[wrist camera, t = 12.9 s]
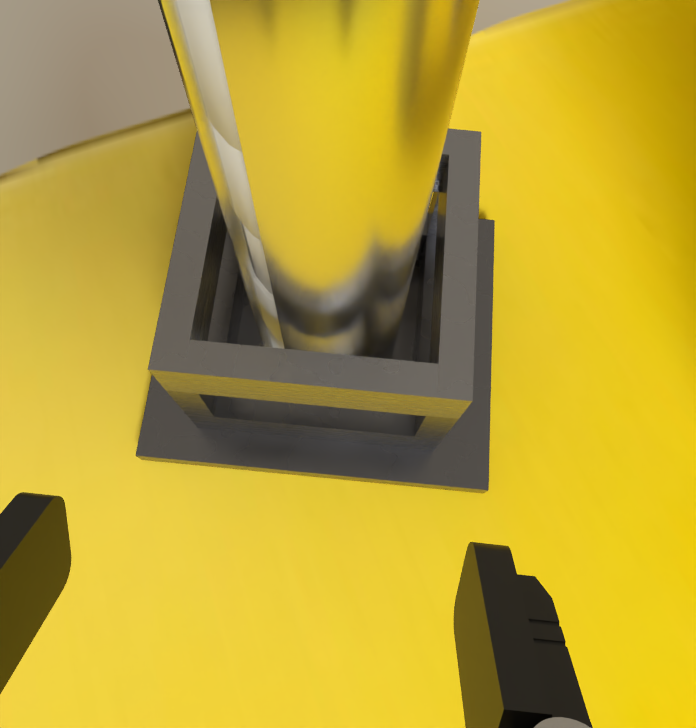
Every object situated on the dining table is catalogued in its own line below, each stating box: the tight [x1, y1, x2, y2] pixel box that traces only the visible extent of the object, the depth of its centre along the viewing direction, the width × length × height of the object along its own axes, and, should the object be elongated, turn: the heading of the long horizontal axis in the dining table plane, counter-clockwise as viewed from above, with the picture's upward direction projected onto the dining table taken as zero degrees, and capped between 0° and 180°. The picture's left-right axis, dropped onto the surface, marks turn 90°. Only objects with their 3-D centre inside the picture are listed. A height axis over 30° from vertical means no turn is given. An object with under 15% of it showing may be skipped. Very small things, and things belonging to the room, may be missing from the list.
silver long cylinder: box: [158, 0, 479, 359], centre depth 19 cm, size 6×6×25 cm
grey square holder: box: [136, 129, 494, 493], centre depth 28 cm, size 16×14×10 cm
